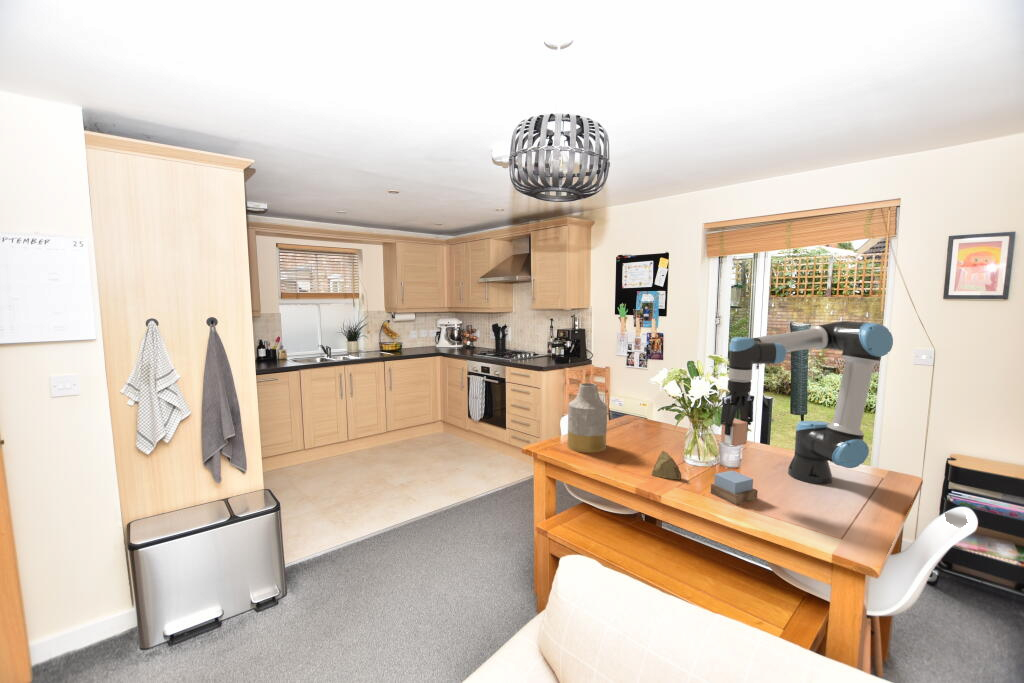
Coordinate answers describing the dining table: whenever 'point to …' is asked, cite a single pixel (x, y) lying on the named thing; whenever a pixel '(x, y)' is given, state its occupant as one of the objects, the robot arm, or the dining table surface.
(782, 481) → the dining table surface
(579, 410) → the vase
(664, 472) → the rock
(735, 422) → the block
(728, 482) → the tower top
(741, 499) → the tower base
